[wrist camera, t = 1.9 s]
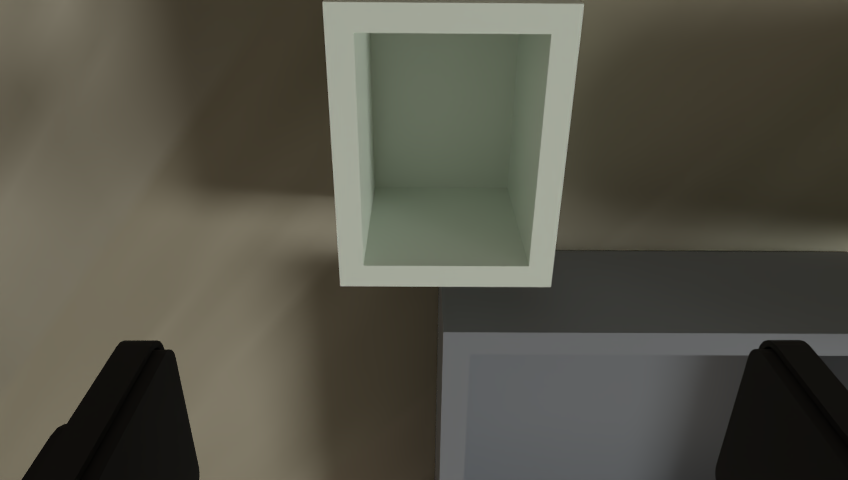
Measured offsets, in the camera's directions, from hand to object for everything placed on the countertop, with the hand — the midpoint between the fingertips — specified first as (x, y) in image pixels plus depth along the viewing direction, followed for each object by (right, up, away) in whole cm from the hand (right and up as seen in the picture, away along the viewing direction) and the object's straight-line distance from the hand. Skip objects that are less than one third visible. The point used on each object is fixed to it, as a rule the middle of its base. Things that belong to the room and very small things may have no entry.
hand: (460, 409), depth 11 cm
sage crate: (0, +9, +15) cm, 17 cm away
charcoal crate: (+9, -5, +22) cm, 24 cm away
